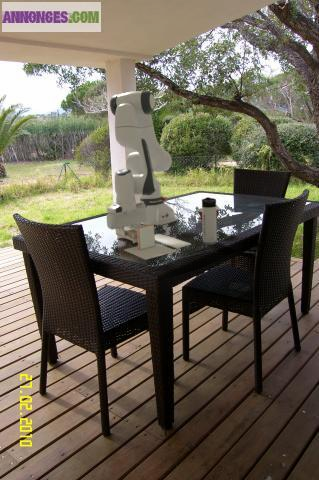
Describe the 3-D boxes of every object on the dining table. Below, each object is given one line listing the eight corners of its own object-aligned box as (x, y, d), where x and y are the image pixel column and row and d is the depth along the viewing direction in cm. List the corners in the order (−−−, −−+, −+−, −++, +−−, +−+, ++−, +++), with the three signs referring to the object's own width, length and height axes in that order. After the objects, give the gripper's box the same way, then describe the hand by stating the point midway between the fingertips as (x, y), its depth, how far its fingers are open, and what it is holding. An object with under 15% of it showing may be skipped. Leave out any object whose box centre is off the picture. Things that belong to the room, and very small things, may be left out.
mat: (153, 243, 181) (153, 242, 181) (177, 252, 166) (177, 250, 166) (123, 251, 172) (123, 249, 172) (145, 261, 158) (145, 259, 158)
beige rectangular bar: (123, 232, 195) (123, 224, 194) (144, 240, 181) (144, 231, 179) (113, 235, 192) (112, 227, 191) (133, 243, 177) (133, 234, 176)
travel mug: (215, 240, 181) (214, 196, 175) (217, 244, 174) (217, 199, 169) (201, 241, 181) (200, 197, 175) (203, 245, 174) (202, 200, 169)
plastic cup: (203, 228, 202) (202, 205, 199) (223, 230, 197) (223, 206, 193) (194, 233, 193) (193, 209, 190) (214, 235, 188) (214, 210, 185)
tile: (153, 245, 176) (151, 223, 173) (155, 246, 174) (154, 224, 172) (138, 249, 171) (136, 227, 168) (140, 250, 170) (138, 227, 167)
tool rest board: (160, 235, 193) (160, 233, 193) (191, 245, 174) (191, 243, 174) (146, 238, 189) (146, 236, 189) (176, 249, 170) (176, 247, 170)
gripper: (141, 200, 189) (143, 228, 194) (103, 208, 178) (106, 237, 182) (148, 202, 184) (151, 231, 189) (110, 210, 173) (113, 240, 177)
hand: (128, 234), depth 185 cm, fingers closed on beige rectangular bar, 3 cm apart
